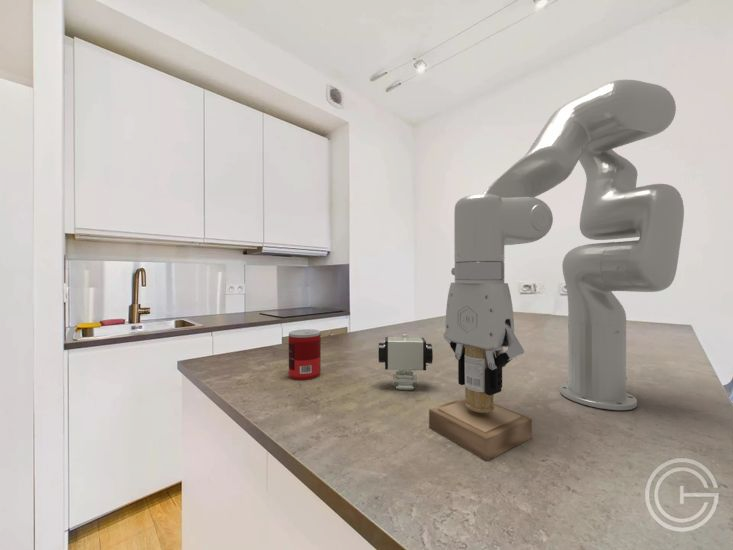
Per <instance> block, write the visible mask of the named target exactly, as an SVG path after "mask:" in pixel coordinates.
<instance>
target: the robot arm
mask: <svg viewBox="0 0 733 550" xmlns="http://www.w3.org/2000/svg"><path fill="white" fill-rule="evenodd" d="M676 109H677V106H676V100H675V98H674V96H673V95H672V93H671V92H670V91H669V90H668V89H667V88H666V87H664V86H662V85H660V84H655V83H651V82H646V81H642V80H635V79H617V80H613V81H610V82H607V83H605V84H603V85H601V86H599V87H597V88H595V89H592V90H591V91H589V92H587V93H585V94H583V95H580V96H579V97H576V98H574V99H572V100H569V102H567V103H565V104H563V105H562V106H560V107H559V108H557V109H556V110H555V111H554V112H553V113H552V115H551V116H550V117H549V119H548V121H547V122H546V123H545V125H544V127H543V128H542V129H541V130H540V132H539V133H538V136H537V137H536V139H535V140H534V142H533V143H532V145H531V147H530V148H529V150H528V151H527V152H526V154H525V155H524V156H522V157H521V158H519V160H517V161H516V162H515V163H513V165H512V166H510V167H509V168H508V169H507V170H506V171H504V173H502V175H500V176H499V177H498V178H497V179H495V180H494V181H493V182H492V183H491V184H490V185H489V186H488V187H487V188H486V189H485V190H484V191H483V193H478V194H476V193H475V194H471V195H468V196H464V197H462V198H460V199H459V200H457V201H456V202H455V205H454V221H453V222H454V224H453V225H454V234H453V235H454V237H453V238H454V240H453V241H454V249H453V250H454V267H452V268H451V271H450V272H451V275H453V276H454V282H450V285H449V288H448V292H447V293H448V295H447V300H446V310H445V312H446V313H445V328H444V329H445V331H444V333H443V335H442V336H443V339H444V340H445V341H446V342H447V343H448V344H449V345H450V348H451V350H452V351H453V352H454V358H455V360H457V361H458V363H457V366H458V367H457V368H458V369H457V370H458V371H457V372H458V373H457V375H458V378H457V379H458V381H457V383H458V385H461V386H465V345H467V346H471V347H475V348H480V349H484V350H485V351H486V357H487V362H488V366H489V368H485V393H486V394H487V395H489V396H490V395H493V396H494V395H495V394H498V393H501V392H502V388H503V368H505V367H506V366H507V364H508V363H510V362H511V361H512V360H513V359H515V358H517V357H519V356H521V355H523V354H524V352H525V350H524V348H523V346H522V344H521V342H520V341H519V340H518V337H517V336H516V334H515V320H514V308H513V302H512V295H511V290H510V287H509V283H508V282H505V246H514V245H523V244H529V243H534V242H537V241H539V240H541V239H543V238H544V237H545V236H547V234H548V233H549V232H550V230H551V229H552V226H553V222H554V220H553V219H554V218H553V212H552V210H551V208H550V206H549V205H548V204H547V203H546V202H544V200H541V199H540V198H537V197H538V196H541V195H543V194H544V193H546V192H548V191H550V190H551V189H553V188H555V187H556V186H558V185H560V184H561V183H563V182H565V180H567V179H568V178H569V176H570V175H571V174H572V173H573V170H574V169H575V168H576V165H577V163H578V162H579V163H580V165H581V167H582V168H583V170H584V173H585V177H586V183H585V190H584V193H583V194H584V195H583V201H582V205H581V209H580V210H581V212H580V217H579V230H580V232H581V234H582V235H581V236H583V237H585V238H586V239H589V240H593V241H607V242H597V243H590V244H589V243H588V244H582V245H579V246H577V247H576V246H575V247H574V248H572V249H570V250H568V252H567V253H566V254H565V256H564V257H563V260H562V275H563V280H564V283H565V289H566V294H567V308H568V309H567V311H568V312H567V313H568V314H567V315H568V319H567V320H568V321H567V325H568V328H567V329H568V330H567V331H568V335H567V336H568V337H567V339H568V340H567V341H568V347H567V348H568V349H567V351H568V352H567V353H568V354H567V356H568V357H567V358H568V361H567V363H568V366H567V367H568V369H567V370H568V371H567V372H568V374H567V375H568V378H567V379H568V382H564V383H562V384H560V386H559V393H561V395H563V396H564V397H565V398H567V399H568V400H570V401H573V402H575V403H577V404H581V405H585V406H587V407H588V406H589V407H592V408H596V409H603V410H612V411H629V410H633V409H635V408H637V406H638V400H637V398H636V397H635V396H634V395H632V394H630V393H628V391H627V380H628V377H627V314H626V311H625V308H624V306H623V305H622V302H620V301H619V299H618V298H617V297H616V296H615V294H614V293H613V292H630V293H631V292H639V293H640V292H641V293H655V292H662V291H664V290H667V289H668V288H669V287H670V286H671V285H672V284H673V282H674V280H675V277H676V273H677V268H678V262H679V255H680V249H681V241H682V236H683V235H682V234H683V227H684V219H685V218H684V217H685V208H684V200H683V197H682V194H681V193H680V192H679V190H678V189H677V188H676V187H674V186H672V185H670V184H666V183H654V184H647V185H642V186H637V183H638V181H637V180H638V170H637V168H636V166H635V165H634V164H633V163H632V162H631V161H629V160H628V159H627V158H625V157H624V156H622V155H620V154H618V153H617V152H616V151H615V150H613V149H616V148H619V147H622V146H625V145H626V146H627V145H629V144H633V143H635V142H638V141H642V140H644V139H647V138H650V137H651V138H652V137H654V136H656V135H658V134H660V133H662V132H665V130H666V129H668V128H669V126H670V125H671V124H672V122H673V121H674V118H675V116H676V111H677V110H676ZM630 238H633V239H634V238H639V239H638V240H624V241H612V242H611V241H610V240H620V239H630ZM608 240H609V241H610V242H609V241H608ZM504 348H507V350H506V351H504Z"/></svg>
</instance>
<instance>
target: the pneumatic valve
mask: <svg viewBox="0 0 733 550" xmlns="http://www.w3.org/2000/svg"><path fill="white" fill-rule="evenodd" d="M433 357H434V355H433V345H432V343H427V341H426V338H424V337H408V334H407V333H406V334H405V333H403V334H402V337H401V336H399V337H397V336H396V337H395V336H385V338H384V340H383V342H378V364H379V363H382V364H383V366H384V367H385V368H384V369H385V370H388V371H389V370H393V371H395V374H393V375H392V377H393V378H392V383H393V384H392V385H393V386H395V388H396V390H398V391H413V390H415V387H417V386H418V375H417V374H414V371H427V367H428V365H431V364H433V359H434V358H433Z"/></svg>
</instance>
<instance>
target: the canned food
mask: <svg viewBox="0 0 733 550" xmlns="http://www.w3.org/2000/svg"><path fill="white" fill-rule="evenodd" d="M321 335H322V334H321V331H320V330H319V329H311V328H310V329H304V328H303V329H295V330H291V331H289V332H288V375H289V378H290V379H292V380H294V379H295V381H308V380H307V379H309V380H312V378H313V379H316V378H318V377H319V376H320V374H321V371H322V370H321V362H322V361H321V360H322V359H321V354H322V353H321V349H322V348H321V347H322V346H321V340H322V339H321ZM317 376H318V377H317ZM315 377H316V378H315Z"/></svg>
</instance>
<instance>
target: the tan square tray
mask: <svg viewBox="0 0 733 550" xmlns="http://www.w3.org/2000/svg"><path fill="white" fill-rule="evenodd" d="M532 421H533V420H532V418H531V417H529V416H526V415H523V414H521V413H518V412H516V411H513V410H511V409H508V408H506V407H503V406H500V405H498V404H496V403H494V410H493V411H491V412H488V413H479V412H475V411H471V410H470V409H468V408H467V407H466V406H465V397H463V398H460V399H457V400H455V401H451V402H447V403H445V404H441V405H439V406H436V407H432V408H429V409H428V428H429V429H431V430H433V431H434V432H436V433H438V434H439V435H442V436H443V437H445V438H446V439H448V440H450V441H451V442H453V443H455V444H457V445H459V446H460V447H462V448H464V449H466V450H467V451H468V452H470V453H472V454H473V455H476V456H477V457H479V458H481V459H482V460H484V461H486V462H487V461H490V460H492V459H493V458H495V457H497V456H500V455H502V454H503V453H505V452H507V451H509V450H511V449H513V448H515V447H517V446H519V445H521V444H523V443H525V442H527V441H529V440H531V439H532V438H533V434H532V433H533V432H532V431H533V429H532V428H533V427H532V426H533V425H532V423H533V422H532Z"/></svg>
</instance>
